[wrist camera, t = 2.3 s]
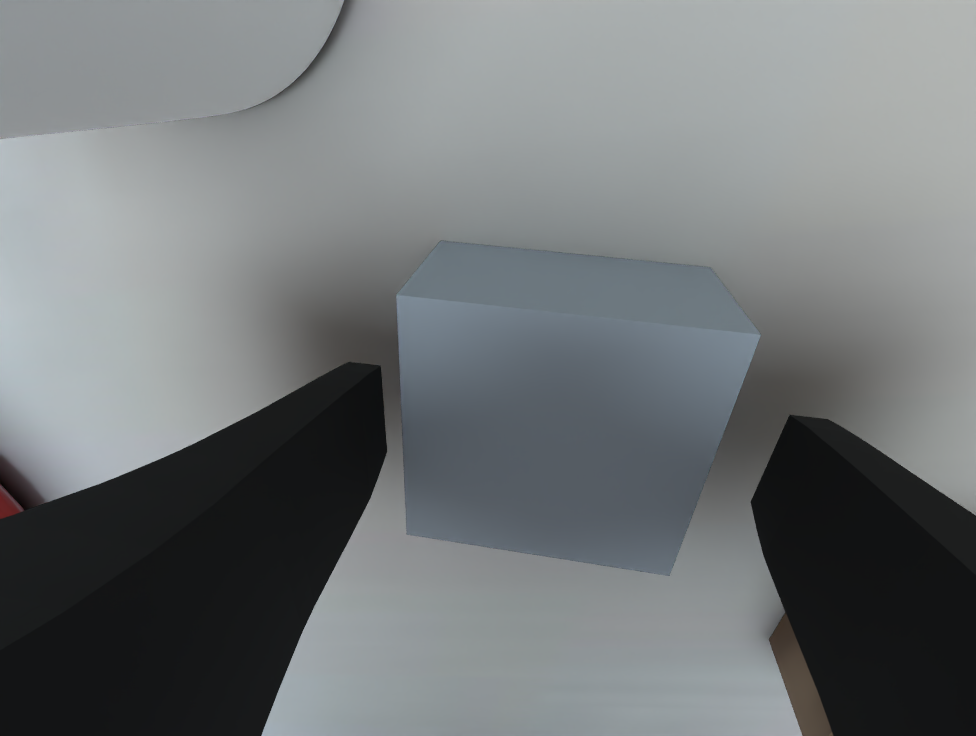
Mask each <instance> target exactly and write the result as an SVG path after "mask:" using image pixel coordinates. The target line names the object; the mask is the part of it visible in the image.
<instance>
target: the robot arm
mask: <svg viewBox="0 0 976 736" xmlns="http://www.w3.org/2000/svg"><path fill="white" fill-rule="evenodd" d="M386 453H387V444H386V431H385V417H384V404H383V390H382V377H381V366H378V365H370V364H361V363H353V362H348V363H346V364H344V365H342V366H340V367H338V368H336V369H334V370H332V371H330V372H328V373H326V374H324V375H323V376H321V377H319V378H317V379H315V380H314V381H312V382H310V383H308V384H306V385H305V386H303V387H301V388H299V389H298V390H296V391H294V392H292V393H290V394H289V395H287V396H285V397H283V398H281V399H279V400H278V401H276V402H274V403H272V404H270V405H269V406H267V407H265V408H263V409H261V410H260V411H258V412H256V413H254V414H252V415H250V416H248V417H246V418H244V419H242V420H240V421H238V422H236V423H234V424H232V425H230V426H228V427H226V428H224V429H222V430H220V431H218V432H216V433H214V434H212V435H211V436H209V437H207V438H205V439H203V440H201V441H199V442H197V443H195V444H192V445H190V446H188V447H186V448H184V449H182V450H180V451H177V452H175V453H173V454H171V455H168V456H166V457H164V458H162V459H159V460H157V461H155V462H152V463H150V464H148V465H145V466H143V467H140V468H138V469H135V470H133V471H131V472H128V473H126V474H123V475H121V476H119V477H116V478H114V479H111V480H108V481H106V482H103V483H101V484H98V485H95V486H93V487H90V488H87V489H84V490H81V491H79V492H76V493H73V494H70V495H67V496H64V497H62V498H59V499H56V500H53V501H50V502H48V503H45V504H42V505H39V506H36V507H34V508H31V509H28V510H25V511H22V512H20V513H17V514H14V515H11V516H8V517H5V518H2V519H0V736H261V735H262V732H263V729H264V727H265V724H266V722H267V719H268V716H269V714H270V711H271V708H272V706H273V703H274V701H275V698H276V695H277V693H278V690H279V688H280V685H281V683H282V681H283V678H284V676H285V673H286V671H287V668H288V666H289V663H290V661H291V658H292V656H293V653H294V651H295V648H296V646H297V644H298V641H299V639H300V636H301V634H302V632H303V629H304V627H305V625H306V623H307V621H308V619H309V617H310V615H311V612H312V610H313V608H314V606H315V604H316V602H317V600H318V598H319V596H320V595H321V593H322V591H323V589H324V587H325V585H326V583H327V581H328V579H329V577H330V575H331V573H332V571H333V570H334V568H335V566H336V564H337V562H338V560H339V558H340V556H341V554H342V552H343V550H344V548H345V547H346V545H347V543H348V541H349V539H350V537H351V535H352V533H353V531H354V529H355V527H356V525H357V523H358V521H359V519H360V517H361V516H362V514H363V512H364V510H365V508H366V506H367V504H368V502H369V500H370V498H371V495H372V492H373V490H374V487H375V484H376V482H377V479H378V476H379V473H380V470H381V468H382V465H383V462H384V459H385V456H386ZM751 505H752V510H753V514H754V519H755V523H756V528H757V532H758V536H759V540H760V544H761V547H762V551H763V555H764V558H765V561H766V563H767V566H768V569H769V571H770V574H771V576H772V579H773V582H774V584H775V587H776V589H777V592H778V594H779V597H780V599H781V602H782V604H783V607H784V609H785V612H786V614H787V617H788V619H789V622H790V624H791V627H792V629H793V632H794V634H795V637H796V639H797V642H798V644H799V647H800V649H801V652H802V654H803V657H804V659H805V662H806V664H807V667H808V669H809V672H810V674H811V677H812V679H813V681H814V684H815V686H816V689H817V691H818V694H819V697H820V700H821V702H822V705H823V708H824V711H825V713H826V716H827V719H828V722H829V725H830V727H831V731H832V734H833V736H976V516H975V515H974V514H972V513H971V512H969V511H968V510H966V509H965V508H963V507H962V506H960V505H959V504H957V503H956V502H954V501H953V500H951V499H950V498H948V497H947V496H945V495H944V494H942V493H941V492H939V491H938V490H936V489H935V488H933V487H932V486H930V485H929V484H928V483H926V482H925V481H923V480H922V479H920V478H919V477H917V476H916V475H914V474H913V473H911V472H910V471H908V470H907V469H905V468H904V467H902V466H901V465H899V464H898V463H897V462H895V461H894V460H892V459H891V458H889V457H888V456H886V455H885V454H883V453H882V452H880V451H879V450H877V449H876V448H874V447H873V446H871V445H870V444H868V443H866V442H865V441H863V440H862V439H860V438H859V437H857V436H856V435H854V434H852V433H851V432H849V431H848V430H846V429H844V428H843V427H841V426H839V425H837V424H835V423H834V422H832V421H830V420H828V419H820V418H812V417H804V416H795V415H789V417H788V420H787V422H786V424H785V426H784V429H783V431H782V433H781V435H780V438H779V440H778V442H777V444H776V446H775V449H774V451H773V453H772V455H771V458H770V460H769V462H768V464H767V467H766V469H765V471H764V473H763V475H762V478H761V480H760V482H759V484H758V487H757V489H756V491H755V493H754V496H753V498H752V500H751Z"/></svg>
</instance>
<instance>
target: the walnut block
mask: <svg viewBox="0 0 976 736" xmlns="http://www.w3.org/2000/svg"><path fill="white" fill-rule="evenodd" d="M769 641H770V644H771V647H772V650H773V653H774V656H775V658H776V661H777V664H778V667H779V670H780V673H781V676H782V678H783V681H784V684H785V687H786V690H787V693H788V695H789V698H790V701H791V704H792V707H793V710H794V713H795V715H796V718H797V721H798V724H799V727H800V730H801V732H802V735H803V736H833V734H832V731H831V727H830V725H829V722H828V719H827V716H826V713H825V711H824V708H823V705H822V702H821V700H820V697H819V694H818V691H817V689H816V686H815V684H814V681H813V679H812V677H811V674H810V672H809V669H808V667H807V664H806V662H805V659H804V657H803V654H802V652H801V649H800V647H799V644H798V642H797V639H796V637H795V634H794V632H793V629H792V627H791V624H790V622H789V619H788V617H787V614H786V612H785V614H784V616H783V617H782V619H781V621H780V622H779V624H778V626H777V627H776V629H775V631H774V632H773V634H772V636H771V637H770V639H769Z"/></svg>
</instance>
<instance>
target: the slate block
mask: <svg viewBox="0 0 976 736" xmlns="http://www.w3.org/2000/svg"><path fill="white" fill-rule="evenodd" d="M396 299H397V322H398V345H399V368H400V391H401V414H402V437H403V460H404V483H405V506H406V529H407V535H413V536H420V537H426V538H432V539H439V540H445V541H451V542H458V543H464V544H470V545H477V546H483V547H489V548H496V549H502V550H508V551H515V552H521V553H527V554H534V555H540V556H546V557H553V558H559V559H565V560H572V561H578V562H584V563H591V564H597V565H603V566H610V567H616V568H622V569H629V570H635V571H641V572H648V573H654V574H660V575H667V576H670V573H671V570H672V568H673V565H674V562H675V560H676V557H677V555H678V552H679V549H680V547H681V544H682V541H683V539H684V536H685V533H686V531H687V528H688V526H689V523H690V520H691V518H692V515H693V512H694V510H695V507H696V505H697V502H698V499H699V497H700V494H701V491H702V489H703V486H704V484H705V481H706V478H707V476H708V473H709V470H710V468H711V465H712V463H713V460H714V457H715V455H716V452H717V449H718V447H719V444H720V442H721V439H722V436H723V434H724V431H725V428H726V426H727V423H728V421H729V418H730V415H731V413H732V410H733V407H734V405H735V402H736V400H737V397H738V394H739V392H740V389H741V386H742V384H743V381H744V378H745V376H746V373H747V371H748V368H749V365H750V363H751V360H752V357H753V355H754V352H755V350H756V347H757V344H758V342H759V339H760V336H761V334H760V333H759V331H758V330H757V329H756V327H755V326H754V325H753V323H752V322H751V321H750V319H749V318H748V317H747V315H746V314H745V313H744V311H743V310H742V309H741V307H740V306H739V305H738V303H737V302H736V301H735V299H734V298H733V297H732V295H731V294H730V293H729V291H728V290H727V289H726V287H725V286H724V285H723V283H722V282H721V281H720V279H719V278H718V277H717V275H716V274H715V273H714V271H713V270H712V269H711V267H702V266H692V265H682V264H672V263H662V262H652V261H642V260H632V259H621V258H611V257H601V256H591V255H581V254H571V253H561V252H550V251H540V250H530V249H520V248H510V247H500V246H490V245H480V244H469V243H459V242H449V241H440V242H439V243H438V244H437V246H436V247H435V248H434V249H433V251H432V252H431V253H430V254H429V255H428V257H427V258H426V259H425V260H424V262H423V263H422V264H421V265H420V266H419V268H418V269H417V270H416V271H415V273H414V274H413V275H412V276H411V277H410V279H409V280H408V281H407V282H406V284H405V285H404V286H403V287H402V289H401V290H400V291H399V292H398V293H397V295H396Z"/></svg>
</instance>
